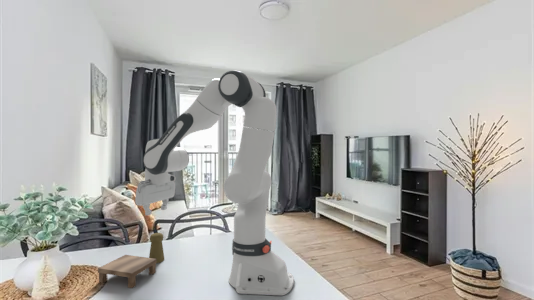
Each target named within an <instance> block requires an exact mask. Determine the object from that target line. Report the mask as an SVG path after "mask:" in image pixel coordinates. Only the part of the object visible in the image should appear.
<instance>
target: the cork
mask: <svg viewBox="0 0 534 300" xmlns="http://www.w3.org/2000/svg"><path fill="white" fill-rule="evenodd" d="M163 240H164V234H163V233H161V232H155V233H152V234H150V237H149V242H150V248H149V249H150V250H149V255H148V258H154V259H157V263H156V264H159V263H162V262H164V261H165V254H164V246H163Z"/></svg>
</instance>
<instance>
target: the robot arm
mask: <svg viewBox="0 0 534 300" xmlns="http://www.w3.org/2000/svg"><path fill="white" fill-rule="evenodd" d="M266 93H267V92H266V90H265V88H264V87H263V85H262V84H261V83H260V82H257V80H255V79H254V78H253V77H251V76H250V75H248V74H246V73H244V72H243V71H239V70H228V71H226V72H224V73H223V74H222V75H221V76H220V78H213V79H212V80H210V81H209V82H208V83H207V84H206V86H204V88H203V89H202V90H201V91H200V93H198V95H197V96H196V99H195V100H194V101H193V103H192V104H191V105H190V106H189V107H188V108H187V109H186V110H185V111H184V112H182V113H181V114H180V115H179V116H177V118H176V119H175V120H174V121H173V122H172V123H171V124H170V126H169V127H168V128H167V129H166V131H165V132H164V133H163V134H162V135H161V136H160V137H159V138H153V139H150V140H148V141H147V143H146V145H145V149H144V151H145V153H144V154H143V159H142V162H143V163H142V164H143V167H144V168H145V169H144V180H141V181H139V183H138V184H137V187H136V191H135V198H134V201H135V205H136V206H142V208H143V209H144V211H145V212H144V214H145V216H150V215H152V210H151V209H150V206H151V204H154V203H157V202H160V201H162V204H161V206H160V210H161V211H165V210H167V208H168V207H167V206H168V203H169V201H170V200H169V199H172V198H174V197H175V194H176V182H175V181H176V176H175V175H173V174H170V173H172V172H173V173H174V172H180V171H182V170H185V169H186V168H187V167H188V165H189V162H190V157H189V153H188V151H187V150H186V149H184V148H182V147H178V146H179V144H180V143H181V142H182V141H183V139H184V138H186V137H187V136H189V135H190V134H193V133H196V132H199V131H203V130H204V131H205V130H208V129H210V128H212V127H214V125H216V124H217V123H218V121H219V120H220V118H221V117H222V115H223V114H224V113H225V111H226V110H227V108H228V107H229V106H231V105H233V106H236V107H238V108H241V109H242V110H243V111H244V121H243V126H242V133H241V138H240V144H239V148H238V152H237V155H236V157H235V160H234V163H233V165H232V168H231V171H230V173H229V175H228V176H227V177H226V179H225V180H224V182H223V192H224V195H225V197H226V198H227V199H228V200H229V201H230V202H232V203H234V204H237V208H236V212H235V214H234V216H233V239H232V243H231V251H232V263H231V264H232V265H231V271H230V274H229V277H228V282H229V284H230V285H231V287H233V288H234V289H235V291H236V293H237V294H243V295H261V296H262V295H263V296H264V295H267V296H285V295H287V294H288V293H289V292H291V290H292V289H293V286H294V284H295V281H294V280H295V279H294V275H293V274H292V273H290V272H288V269H287V264H286V261H285V260H284V259H283V258H281V257H280V256H278V254H276V253H275V252H274V251H272V240H270V241H269V240H268V239H267V238H266V221H267V220H266V217H267V209H268V204H269V198H270V196H269V195H270V189H271V186H272V177H271V174H270V172H268V171H267V170H266V166H267V164H268V161H269V159H270V157H271V155H272V150H273V144H274V139H275V134H276V133H275V131H276V125H277V105H276V102H275V101H274V100H272V99H271V98H269V97H267V94H266Z"/></svg>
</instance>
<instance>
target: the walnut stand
mask: <svg viewBox="0 0 534 300" xmlns="http://www.w3.org/2000/svg"><path fill="white" fill-rule="evenodd" d="M156 264H158V263H157V259H154V258H149V257H145V256H138V255H129V254H124V255H122V256H120V257H118V258H115V259H113V260H112V261H109V262H108V263H105V264H104V265H100V266H99V267H98V269H97V273H98V283H99V282H101V283H100V284H104V283H106V282H107V278H108V275H111V276H119V277H124V278H127V288H129V289H133V288H135V287H136V285H137V284H136V283H137V282H136V281H137V280H136V279H137V278H136V276H137V275H139V274H141V273H143V272H145V271H146V270H148V274H149V275H154V274H156V272H157V271H156V269H157V265H156Z"/></svg>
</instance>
